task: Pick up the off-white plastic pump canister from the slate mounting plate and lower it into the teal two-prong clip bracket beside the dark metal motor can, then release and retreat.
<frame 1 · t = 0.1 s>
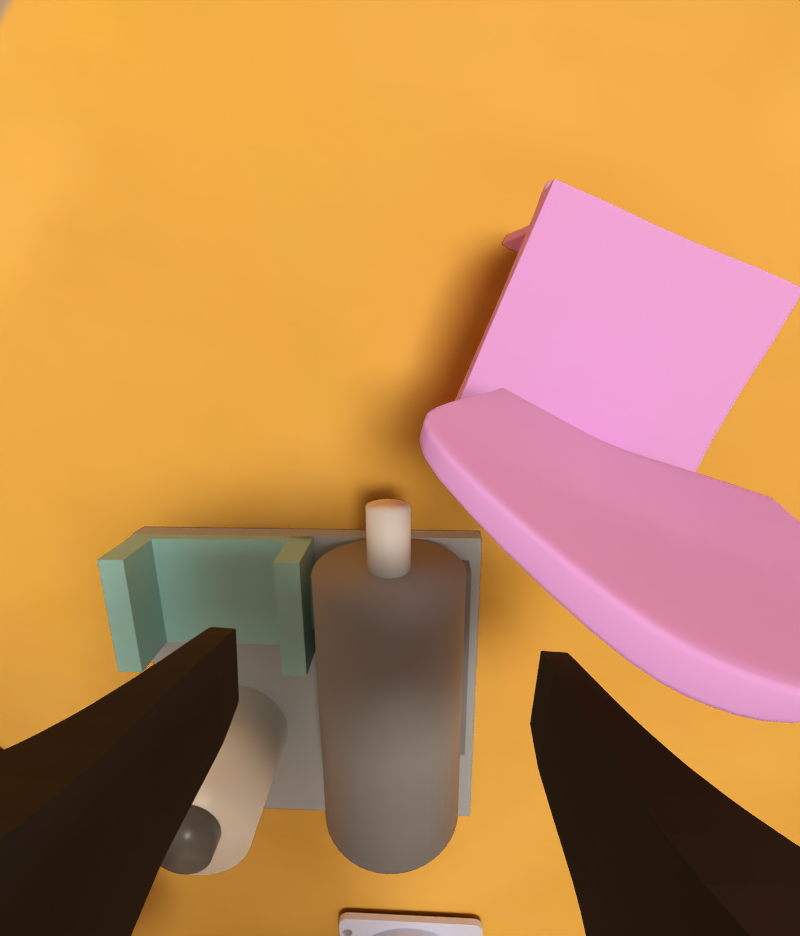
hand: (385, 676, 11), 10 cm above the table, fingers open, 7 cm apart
pump: (238, 726, 23), point 1 cm above the table, touching motor assembly
motor assembly: (317, 673, 23), on the table
toy chair: (535, 366, 19), on the table
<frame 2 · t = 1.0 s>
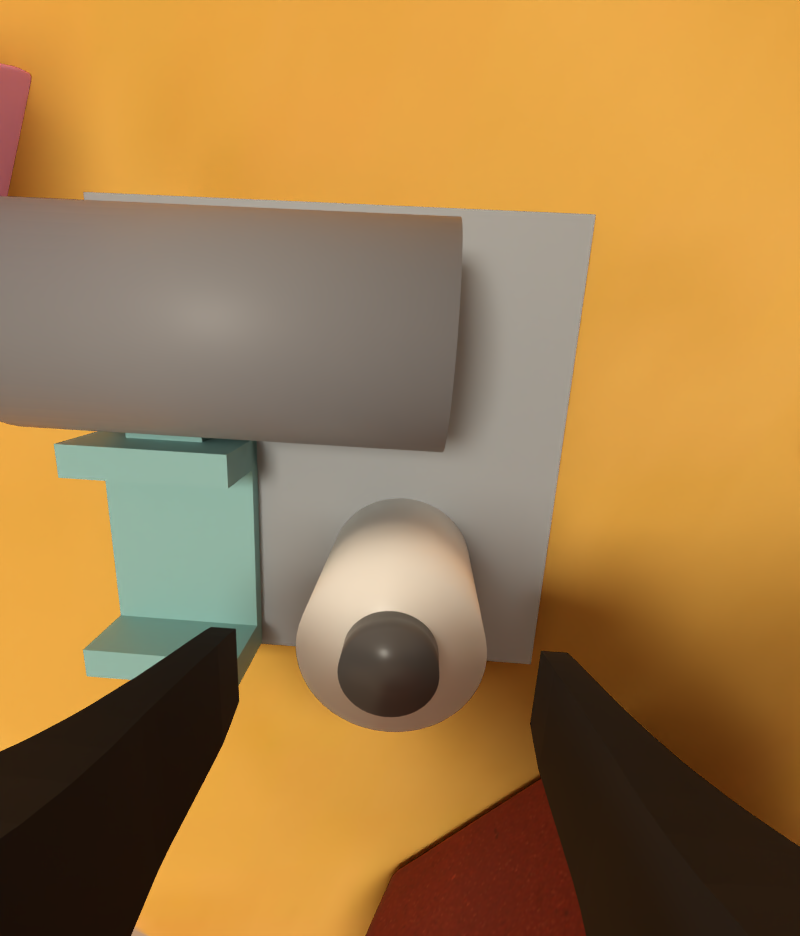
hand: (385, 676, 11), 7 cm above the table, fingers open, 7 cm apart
pump: (400, 563, 17), point 1 cm above the table, touching motor assembly
motor assembly: (335, 448, 17), on the table
plant pot: (582, 882, 22), on the table
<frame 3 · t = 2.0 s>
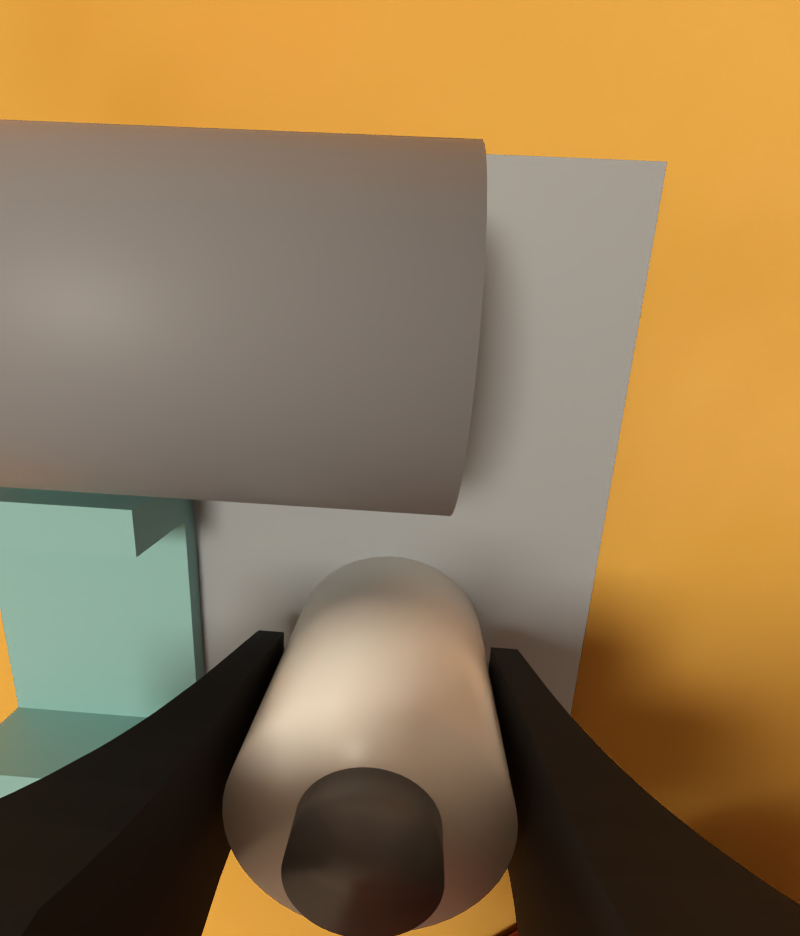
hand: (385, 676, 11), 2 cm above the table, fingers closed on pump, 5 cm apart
pump: (389, 640, 13), point 1 cm above the table, touching gripper, motor assembly
motor assembly: (301, 487, 12), on the table
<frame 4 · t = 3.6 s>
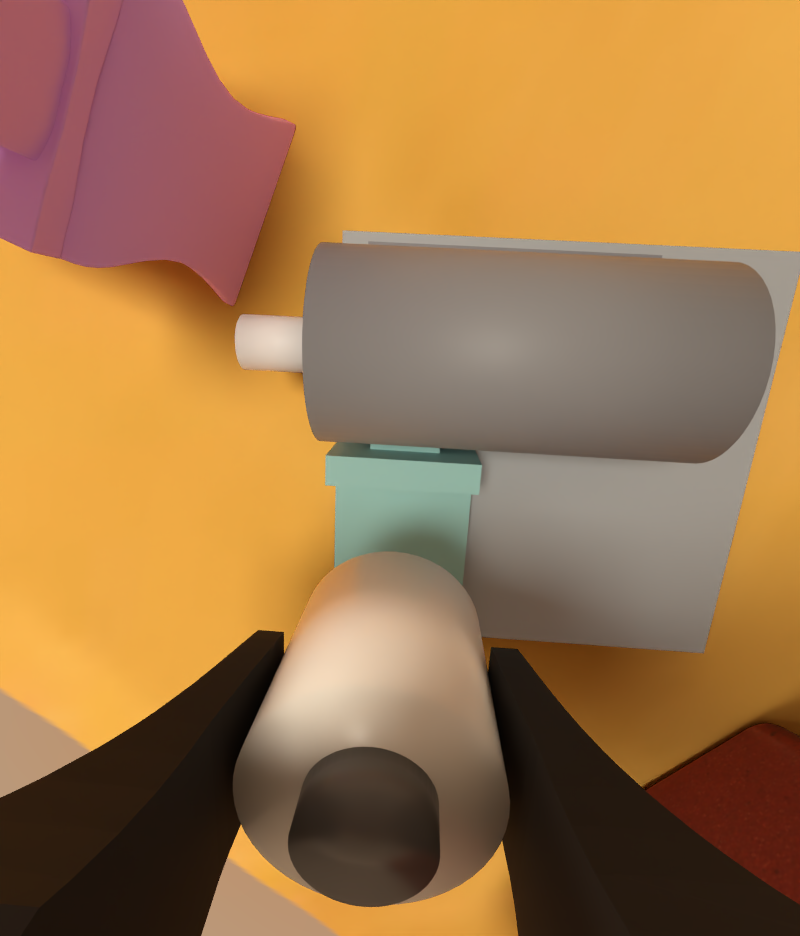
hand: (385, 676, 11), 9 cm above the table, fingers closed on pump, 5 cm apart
pump: (390, 632, 13), point 7 cm above the table, touching gripper
motor assembly: (536, 457, 18), on the table
toy chair: (148, 164, 17), on the table
plant pot: (721, 857, 23), on the table
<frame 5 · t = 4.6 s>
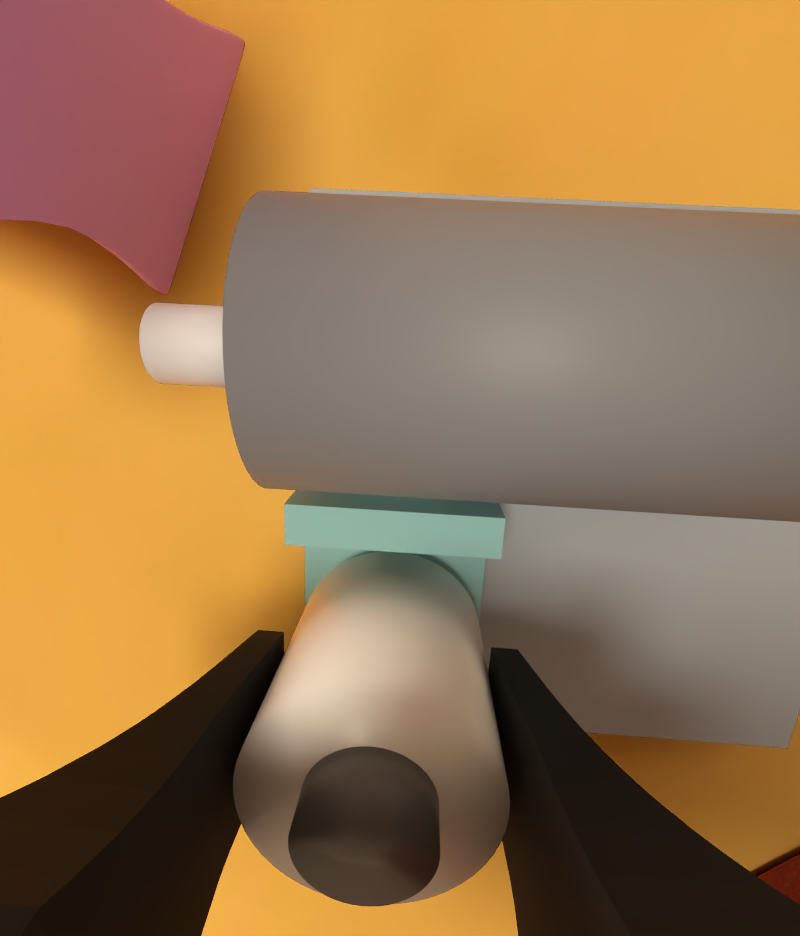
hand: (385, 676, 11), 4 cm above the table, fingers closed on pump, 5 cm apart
pump: (390, 632, 13), point 2 cm above the table, touching gripper
motor assembly: (571, 495, 14), on the table
toy chair: (45, 100, 12), on the table
when the fingers open (4 cm above the table, at t = 5.2 s): pump stays where it is, resting on motor assembly.
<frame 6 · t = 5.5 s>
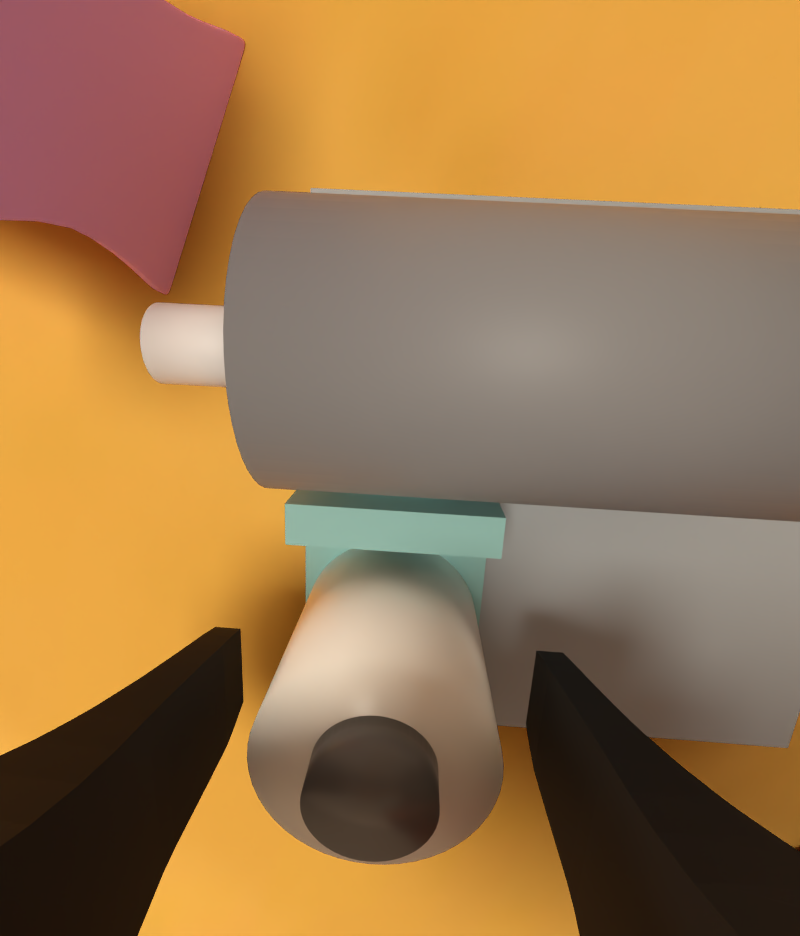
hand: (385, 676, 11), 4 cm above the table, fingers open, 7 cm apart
pump: (390, 617, 14), point 1 cm above the table, touching motor assembly
motor assembly: (571, 495, 14), on the table
toy chair: (46, 100, 12), on the table
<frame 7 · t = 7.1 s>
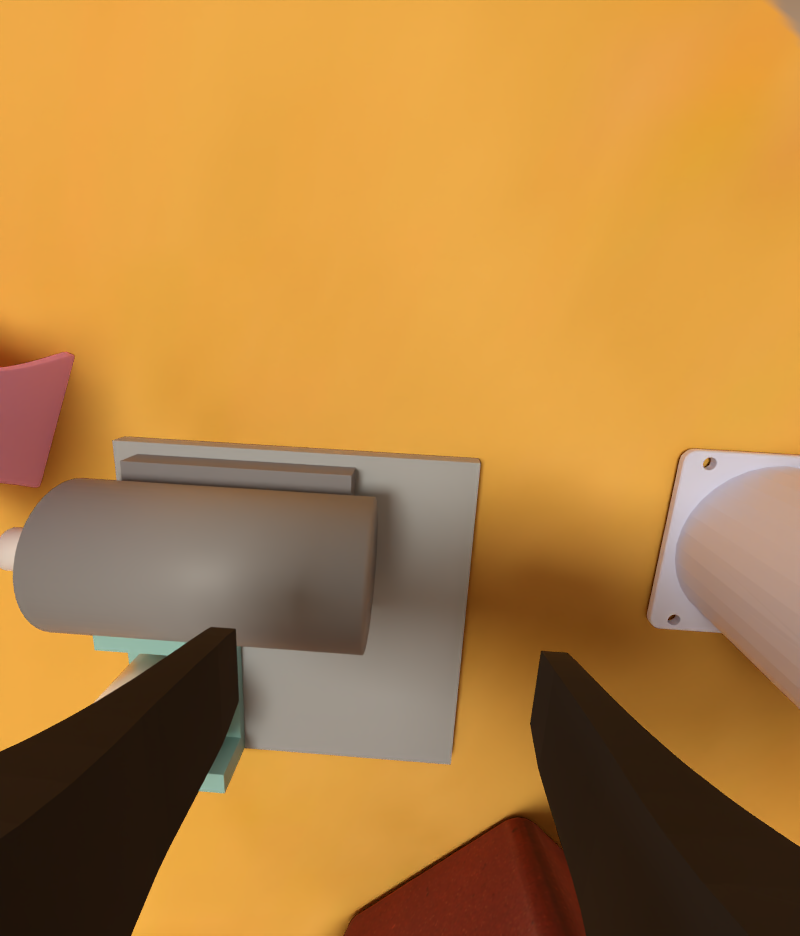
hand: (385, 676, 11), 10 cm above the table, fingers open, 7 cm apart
pump: (183, 683, 22), point 1 cm above the table, touching motor assembly
motor assembly: (299, 606, 22), on the table
plant pot: (503, 924, 27), on the table
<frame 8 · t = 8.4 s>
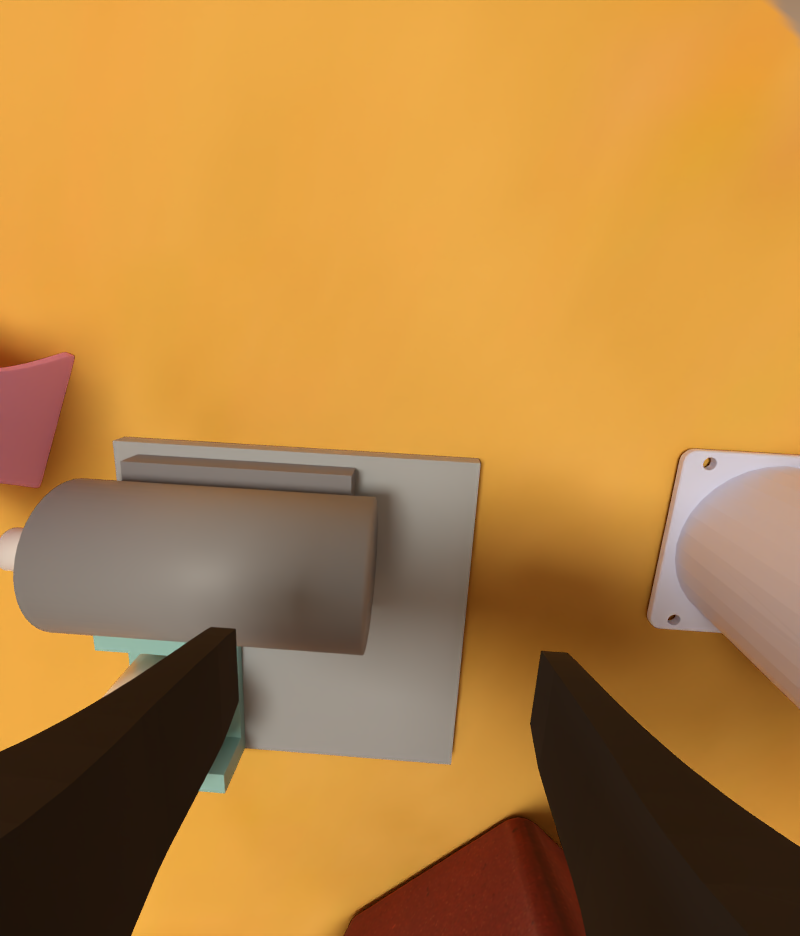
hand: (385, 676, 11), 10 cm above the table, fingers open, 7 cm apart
pump: (183, 684, 22), point 1 cm above the table, touching motor assembly
motor assembly: (299, 606, 22), on the table
plant pot: (503, 924, 27), on the table
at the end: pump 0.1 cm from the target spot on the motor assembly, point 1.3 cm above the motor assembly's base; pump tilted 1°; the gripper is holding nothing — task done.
